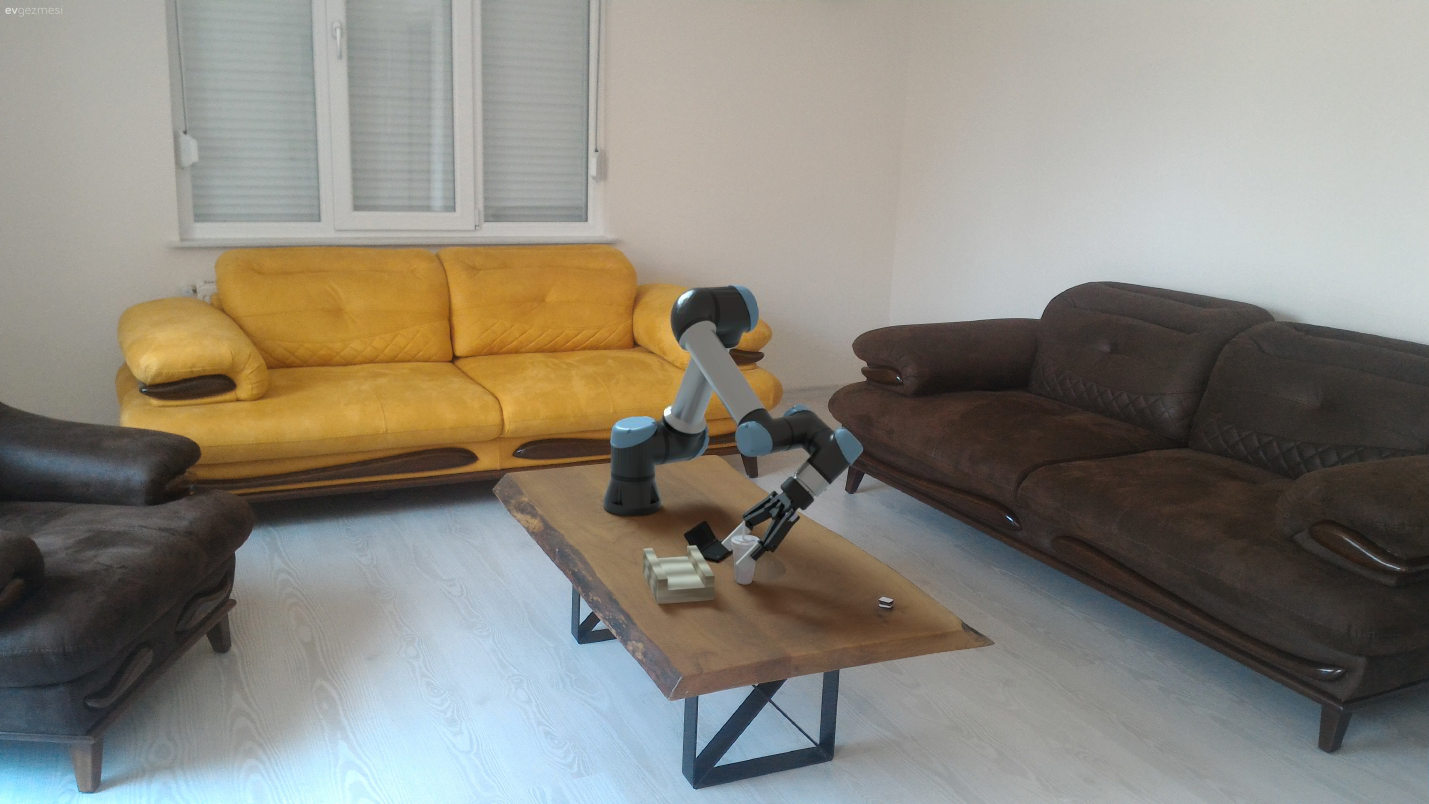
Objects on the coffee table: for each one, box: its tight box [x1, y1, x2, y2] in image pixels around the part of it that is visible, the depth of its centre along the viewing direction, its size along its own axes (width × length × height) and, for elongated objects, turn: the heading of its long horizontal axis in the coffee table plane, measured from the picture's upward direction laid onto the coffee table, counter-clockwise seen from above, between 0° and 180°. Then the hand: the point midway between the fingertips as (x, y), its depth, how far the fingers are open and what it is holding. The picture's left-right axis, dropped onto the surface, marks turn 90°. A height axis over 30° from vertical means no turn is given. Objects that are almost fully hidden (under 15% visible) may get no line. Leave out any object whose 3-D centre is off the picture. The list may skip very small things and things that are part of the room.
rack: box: [642, 545, 716, 605], centre depth 220 cm, size 17×12×6 cm
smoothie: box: [731, 521, 761, 585], centre depth 223 cm, size 6×6×14 cm
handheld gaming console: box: [683, 519, 733, 563], centre depth 240 cm, size 12×7×10 cm
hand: (732, 557), depth 223 cm, fingers open, 11 cm apart
